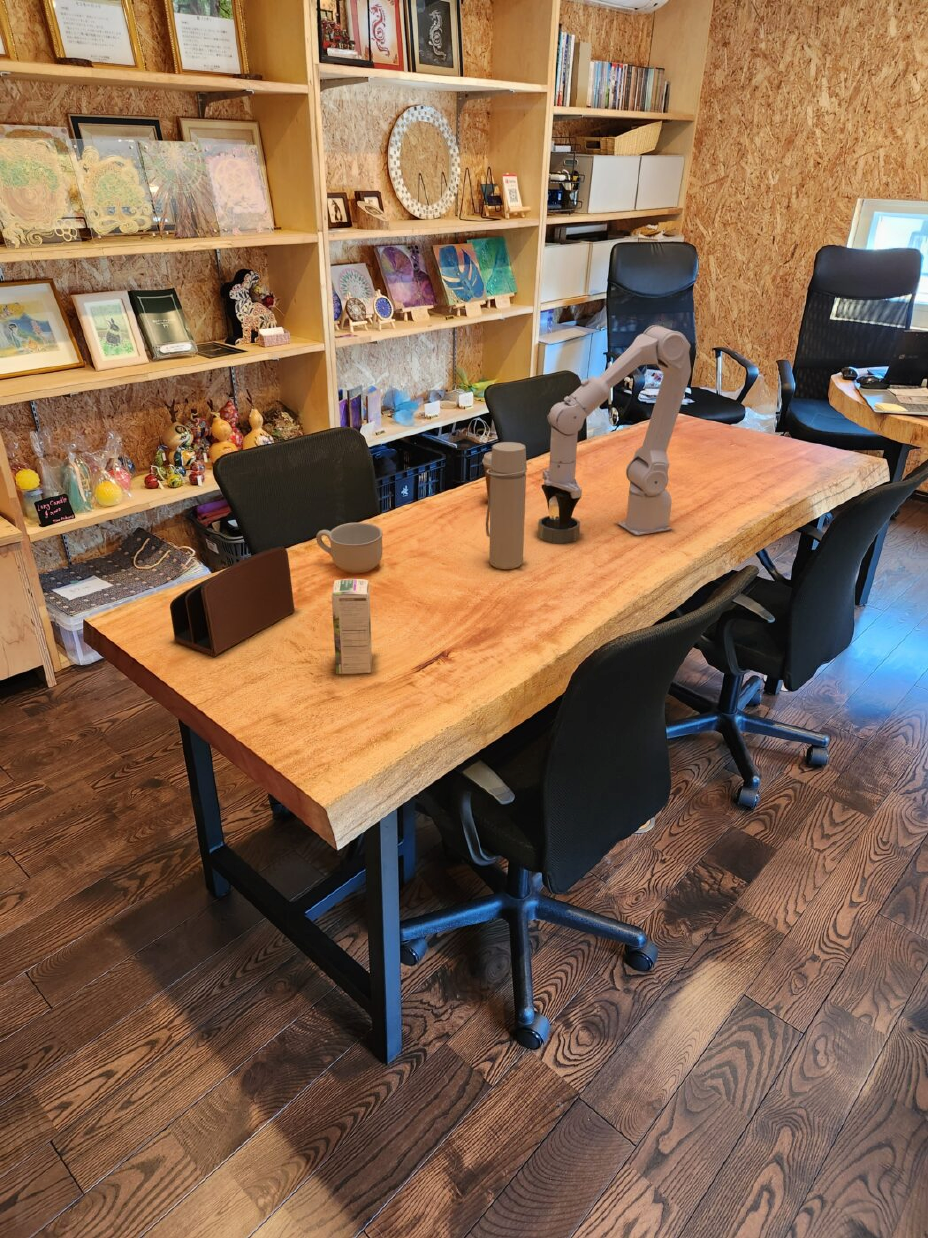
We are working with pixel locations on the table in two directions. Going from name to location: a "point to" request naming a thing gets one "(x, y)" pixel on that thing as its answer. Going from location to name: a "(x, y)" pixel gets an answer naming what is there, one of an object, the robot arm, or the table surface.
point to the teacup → (354, 546)
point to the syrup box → (352, 626)
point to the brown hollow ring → (558, 531)
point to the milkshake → (554, 515)
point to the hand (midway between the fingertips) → (559, 518)
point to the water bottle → (507, 504)
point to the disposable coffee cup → (487, 464)
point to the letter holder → (234, 603)
